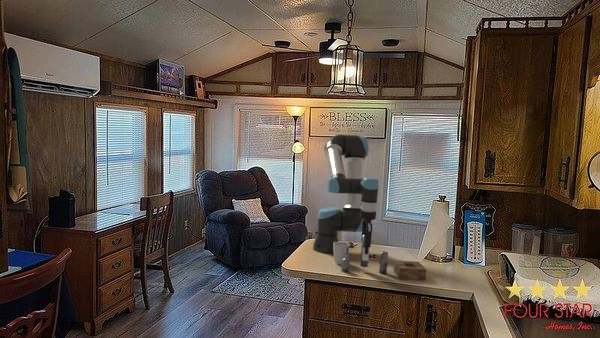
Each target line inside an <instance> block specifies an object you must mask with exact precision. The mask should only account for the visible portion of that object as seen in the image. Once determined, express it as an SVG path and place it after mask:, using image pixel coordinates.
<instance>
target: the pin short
mask: <svg viewBox="0 0 600 338" xmlns="http://www.w3.org/2000/svg"><path fill="white" fill-rule="evenodd" d="M350 260H351V259H350V258H349V257H348V258H342V265H341V270H340V271H341V272H342V273H350V265H351V263H350Z"/></svg>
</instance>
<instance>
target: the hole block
mask: <svg viewBox="0 0 600 338" xmlns="http://www.w3.org/2000/svg"><path fill="white" fill-rule="evenodd" d="M392 271H393V272H394V273H395V276H396V277H398V280H405V281H406V280H407V281H408V280H409V281H411V280H412V281H426V277H427V269H426V268H425V267H424V266H423V264H421V263H420V261H410V260H393V270H392Z"/></svg>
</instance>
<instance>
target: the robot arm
mask: <svg viewBox="0 0 600 338" xmlns="http://www.w3.org/2000/svg"><path fill="white" fill-rule="evenodd" d="M369 151H370V150H369V142H368V139H367V137H366V136H364V135H358V134H355V135H354V134H353V135H352V134H336V135H333V136H331V138H329V139H328V140H327V142H325V145H324V154H325V157H326V159H327V162H328V163H327V164H328V169H329V170H328V171H329V176H330V177H328V179H327V192H328V193H330V194H331V193H332V194H345V204H344V206H343V207H342V210H341V209H340V207H336V206H335V207H334V206H328V207H322V208H321V209H319V210H318V213H317V228H316V229H317V230H316V236H315V239H314V241H313V245H312V250H314V251H316V252H318V253H324V254H334V252H333V243H334V242H340V240H339V239H340V238H339V232H343V233H344V232H346V233H347V232H349V233H361V237H362V236H363V234H365V236H364V246H363V259H362V260H366V261H368V262H369V257H370V256H369V255H370V248H371V247H372V246H371V243H372V233H373V223H372V221H374V220H376V219H377V210H378V209H377V208H378V193H379V192H378V191H379V179H378V178H377V177H371V176H365V177H363V162H364V161H365V160H366V157H368V156H369ZM342 156H344V157H342ZM343 158H344V160H345V161H346V170H345V167H344V163H343ZM361 242H362V238H361Z"/></svg>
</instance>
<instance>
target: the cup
mask: <svg viewBox="0 0 600 338" xmlns="http://www.w3.org/2000/svg"><path fill="white" fill-rule="evenodd" d="M333 252H334V253H333V260H334V264H336V265H340V266H342V258H349V252H350V243H349V242H346V241H339V242H334V243H333Z"/></svg>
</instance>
